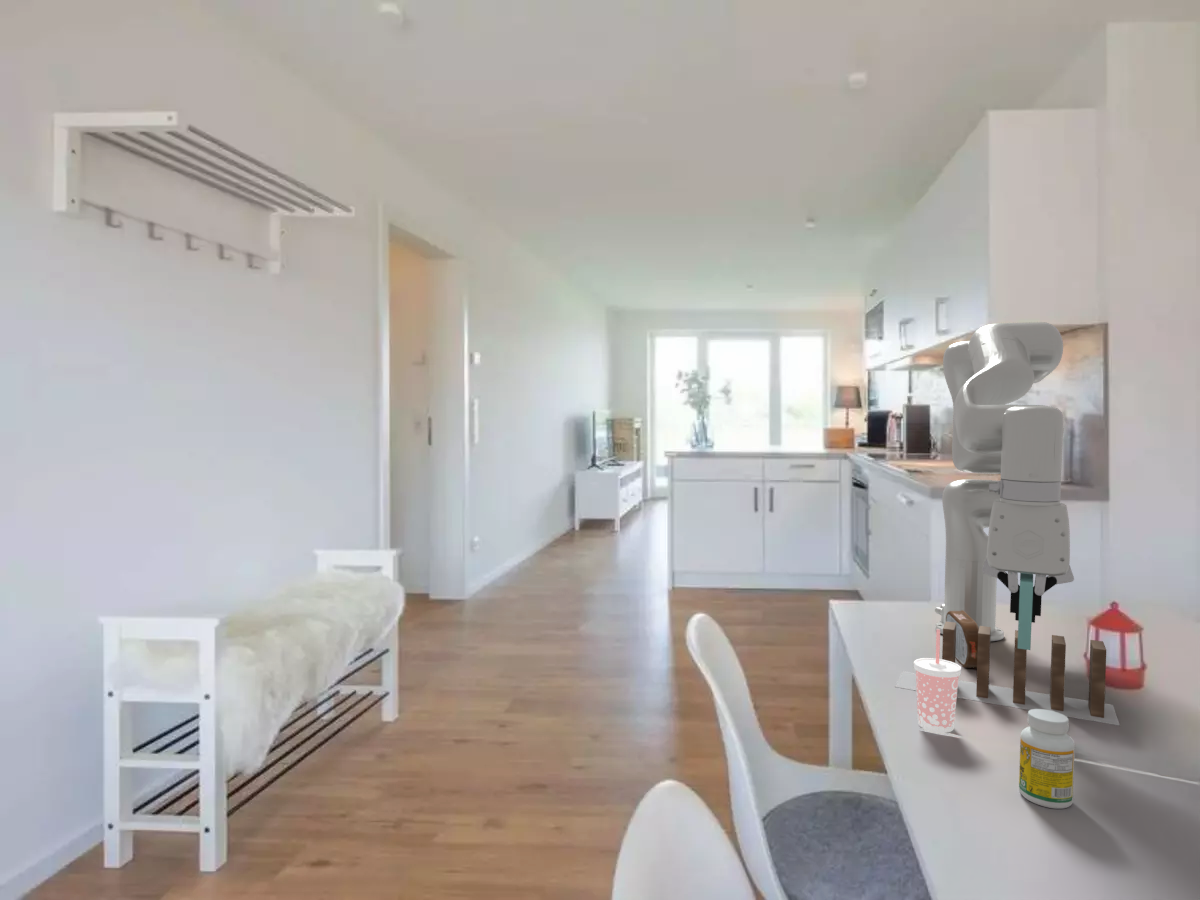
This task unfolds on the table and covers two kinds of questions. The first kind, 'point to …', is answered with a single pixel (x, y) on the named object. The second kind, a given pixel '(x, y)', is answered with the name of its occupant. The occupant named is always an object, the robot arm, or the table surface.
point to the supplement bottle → (1047, 760)
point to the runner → (1005, 698)
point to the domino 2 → (983, 661)
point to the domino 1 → (949, 642)
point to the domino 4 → (1019, 673)
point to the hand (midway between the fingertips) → (1025, 618)
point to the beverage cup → (936, 692)
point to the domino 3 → (1025, 611)
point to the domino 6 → (1097, 678)
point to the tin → (965, 638)
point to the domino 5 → (1057, 672)
